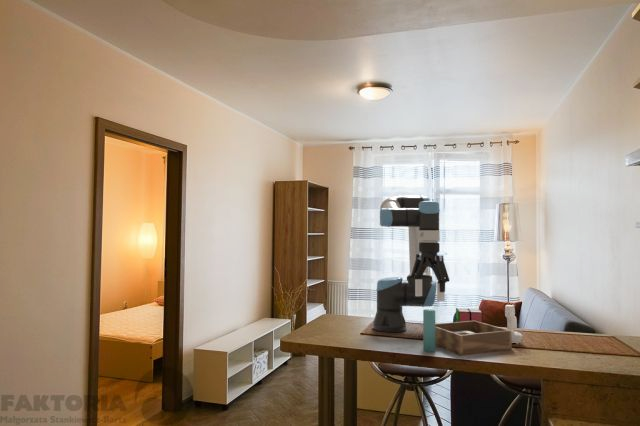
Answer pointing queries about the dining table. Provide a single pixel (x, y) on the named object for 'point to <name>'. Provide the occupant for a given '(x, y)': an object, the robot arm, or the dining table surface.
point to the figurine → (512, 323)
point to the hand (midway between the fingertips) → (429, 298)
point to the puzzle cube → (468, 314)
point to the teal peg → (429, 330)
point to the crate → (471, 337)
